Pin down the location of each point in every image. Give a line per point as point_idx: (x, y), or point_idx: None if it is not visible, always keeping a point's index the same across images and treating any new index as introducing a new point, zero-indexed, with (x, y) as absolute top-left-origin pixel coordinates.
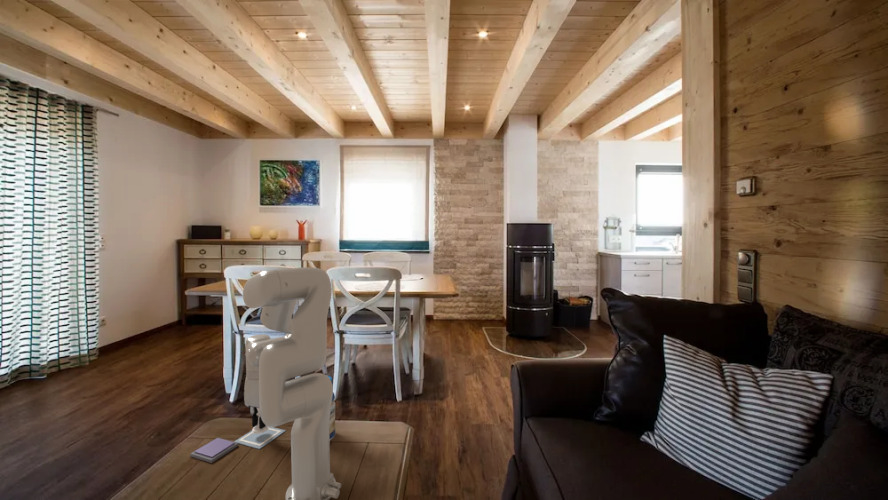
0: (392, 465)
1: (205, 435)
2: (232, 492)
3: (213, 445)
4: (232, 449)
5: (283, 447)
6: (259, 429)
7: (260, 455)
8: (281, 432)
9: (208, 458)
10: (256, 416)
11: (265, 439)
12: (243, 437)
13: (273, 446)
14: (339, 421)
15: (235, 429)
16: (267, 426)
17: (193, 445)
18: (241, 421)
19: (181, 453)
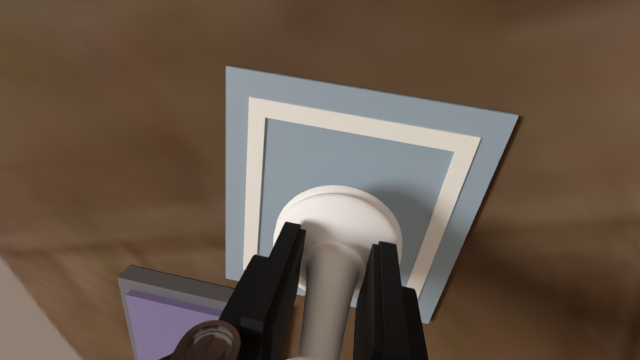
0: None
1: (23, 231)
2: None
3: (175, 345)
4: None
5: (587, 297)
6: (356, 291)
7: (465, 356)
8: (492, 154)
9: None
10: (276, 356)
11: (408, 248)
12: (245, 244)
13: (504, 292)
14: None
15: (103, 155)
16: (391, 236)
17: (71, 302)
18: (27, 44)
19: (92, 345)
